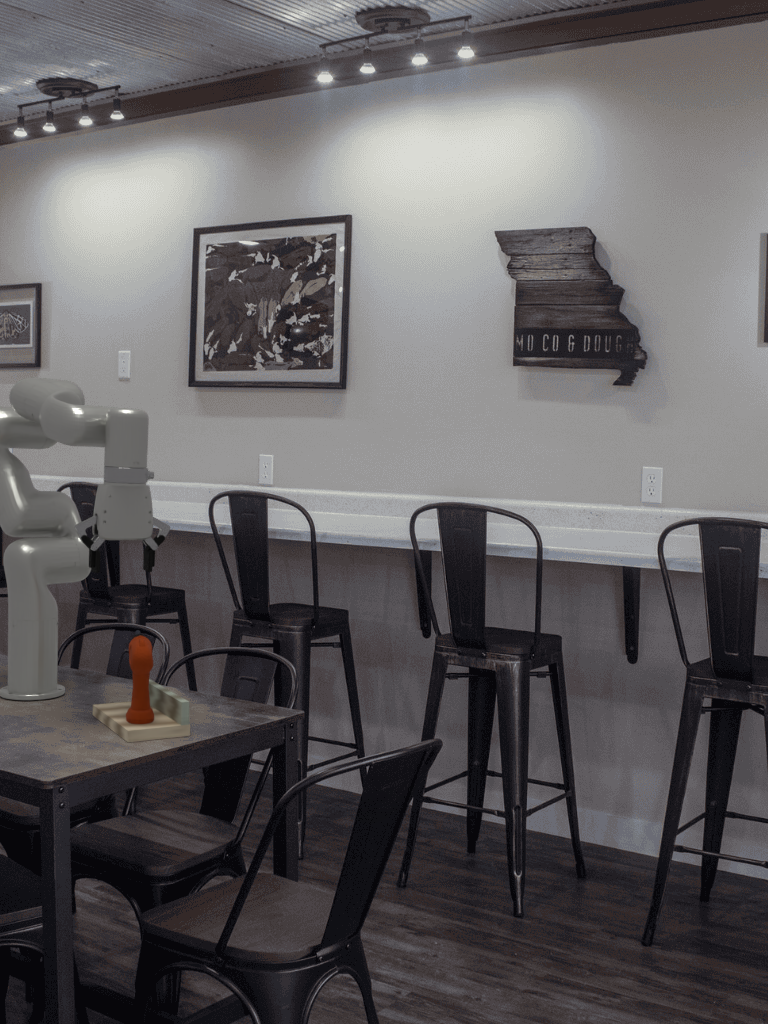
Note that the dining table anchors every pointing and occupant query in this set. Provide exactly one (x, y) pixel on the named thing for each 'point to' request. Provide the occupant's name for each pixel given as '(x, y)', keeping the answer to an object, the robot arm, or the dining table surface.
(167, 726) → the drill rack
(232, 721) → the dining table surface
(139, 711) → the toy drill
